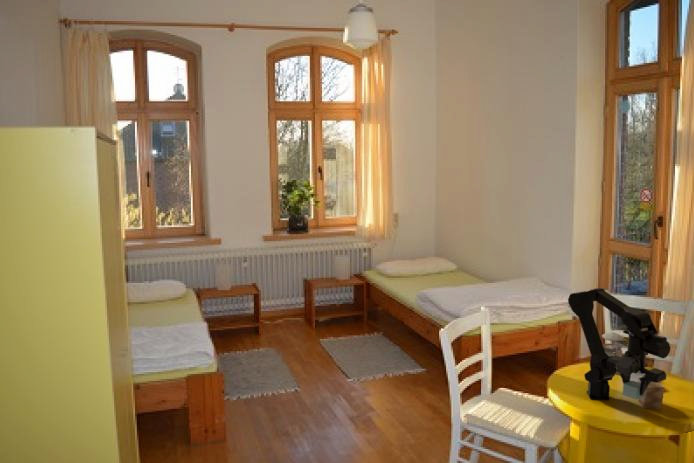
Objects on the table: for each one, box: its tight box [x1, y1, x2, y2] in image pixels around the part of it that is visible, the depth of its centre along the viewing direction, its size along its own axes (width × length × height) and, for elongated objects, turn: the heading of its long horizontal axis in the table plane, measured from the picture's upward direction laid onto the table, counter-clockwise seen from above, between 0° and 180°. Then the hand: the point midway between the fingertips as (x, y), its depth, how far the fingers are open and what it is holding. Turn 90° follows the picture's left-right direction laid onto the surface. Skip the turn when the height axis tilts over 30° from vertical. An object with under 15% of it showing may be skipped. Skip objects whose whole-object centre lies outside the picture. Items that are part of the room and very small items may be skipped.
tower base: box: [637, 397, 664, 410], centre depth 221 cm, size 6×6×4 cm
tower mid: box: [639, 381, 665, 399], centre depth 220 cm, size 6×6×4 cm
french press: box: [601, 312, 624, 375], centre depth 251 cm, size 10×12×25 cm
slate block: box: [622, 380, 645, 401], centre depth 214 cm, size 5×5×4 cm
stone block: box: [630, 372, 660, 384], centre depth 239 cm, size 12×5×10 cm
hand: (633, 392), depth 214 cm, fingers closed on slate block, 5 cm apart
